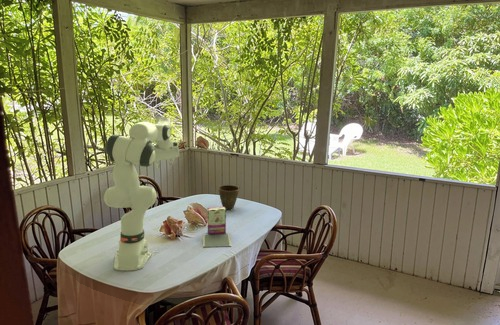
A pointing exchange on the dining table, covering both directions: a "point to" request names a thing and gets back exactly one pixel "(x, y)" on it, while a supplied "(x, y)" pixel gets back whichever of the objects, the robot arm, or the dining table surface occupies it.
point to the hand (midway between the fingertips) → (164, 166)
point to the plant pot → (228, 196)
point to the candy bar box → (216, 220)
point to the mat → (216, 240)
